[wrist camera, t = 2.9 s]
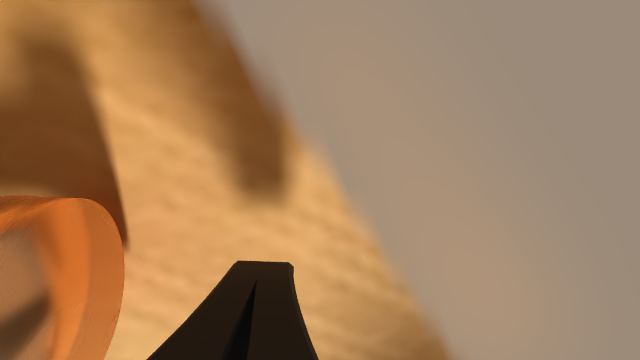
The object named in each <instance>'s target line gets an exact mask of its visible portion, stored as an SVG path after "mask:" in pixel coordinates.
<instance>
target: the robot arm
mask: <svg viewBox="0 0 640 360" xmlns="http://www.w3.org/2000/svg"><path fill="white" fill-rule="evenodd" d="M293 273H294V267H293V266H292V265H291V264H290V263H289V262H262V261H237V262H236V263H235V264H233V266H232V267H231V268H230V270H229V271H228V272H227V273H226V275H225V276H224V277H223V278H222V280H221V281H220V282H219V283H218V284H217V286H216V287H215V288H214V289H213V290H212V292H211V293H210V294H209V295H208V296H207V297H206V299H205V300H204V301H203V302H202V303H201V304H200V305H199V306H198V308H197V309H196V310H195V311H194V312H193V313H192V314H191V315H190V316H189V317H188V319H187V320H186V321H185V322H184V323H183V324H182V325H181V326H180V327H179V328H178V329H177V330H176V331H175V332H174V333H173V334H172V335H171V336H170V337H169V338H168V339H167V340H166V341H165V342H164V343H163V344H162V345H161V346H160V347H159V348H158V349H157V350H156V351H155V352H154V353H153V354H152V355H151V356H150V357H149V358H148V359H146V360H319V359H318V357H317V354H316V352H315V349H314V347H313V345H312V342H311V339H310V337H309V334H308V331H307V328H306V325H305V322H304V319H303V316H302V313H301V310H300V306H299V303H298V299H297V295H296V290H295V285H294V277H293Z"/></svg>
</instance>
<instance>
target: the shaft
mask: <svg viewBox="0 0 640 360" xmlns="http://www.w3.org/2000/svg"><path fill="white" fill-rule="evenodd" d="M123 288H124V254H123V247H122V242H121V238H120V234H119V231H118V228H117V226H116V224H115V222H114V220H113V218H112V217H111V215H110V214H109V212H108V211H107V210H106V209H105V208H104V207H103V206H101V205H100V204H99V203H97V202H95V201H93V200H90V199H85V198H64V197H38V196H4V197H0V360H103V359H104V357H105V355H106V352H107V350H108V348H109V345H110V343H111V340H112V337H113V334H114V331H115V328H116V324H117V321H118V317H119V313H120V308H121V302H122V296H123Z"/></svg>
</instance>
